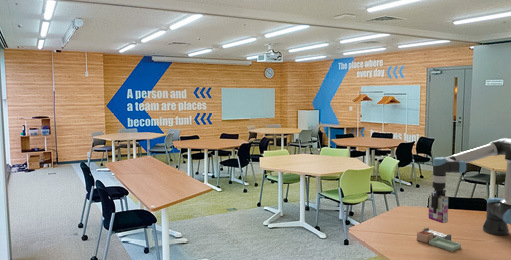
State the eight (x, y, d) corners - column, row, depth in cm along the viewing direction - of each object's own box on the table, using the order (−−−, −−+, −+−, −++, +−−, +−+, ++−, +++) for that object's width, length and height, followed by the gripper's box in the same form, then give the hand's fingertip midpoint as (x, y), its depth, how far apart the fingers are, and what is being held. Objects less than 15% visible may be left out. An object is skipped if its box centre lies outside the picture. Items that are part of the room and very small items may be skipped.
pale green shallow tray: (437, 240, 249) (437, 236, 249) (460, 247, 237) (460, 243, 237) (428, 244, 243) (429, 240, 242) (452, 251, 231) (452, 247, 231)
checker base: (427, 233, 262) (427, 226, 261) (451, 240, 249) (451, 233, 249) (422, 235, 258) (422, 228, 257) (446, 242, 245) (446, 235, 245)
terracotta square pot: (422, 237, 254) (422, 230, 253) (433, 241, 248) (433, 233, 248) (416, 240, 249) (417, 232, 249) (427, 243, 244) (427, 235, 243)
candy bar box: (448, 222, 248) (448, 197, 247) (442, 223, 246) (443, 198, 244) (433, 217, 258) (434, 192, 257) (428, 218, 256) (428, 193, 255)
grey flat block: (430, 231, 260) (430, 229, 260) (447, 236, 250) (447, 235, 250) (425, 233, 256) (425, 231, 256) (443, 238, 247) (443, 237, 247)
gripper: (440, 178, 258) (439, 212, 261) (425, 183, 247) (424, 218, 249) (452, 180, 252) (450, 215, 255) (437, 185, 241) (436, 221, 244)
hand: (437, 217), depth 252 cm, fingers closed on candy bar box, 6 cm apart
